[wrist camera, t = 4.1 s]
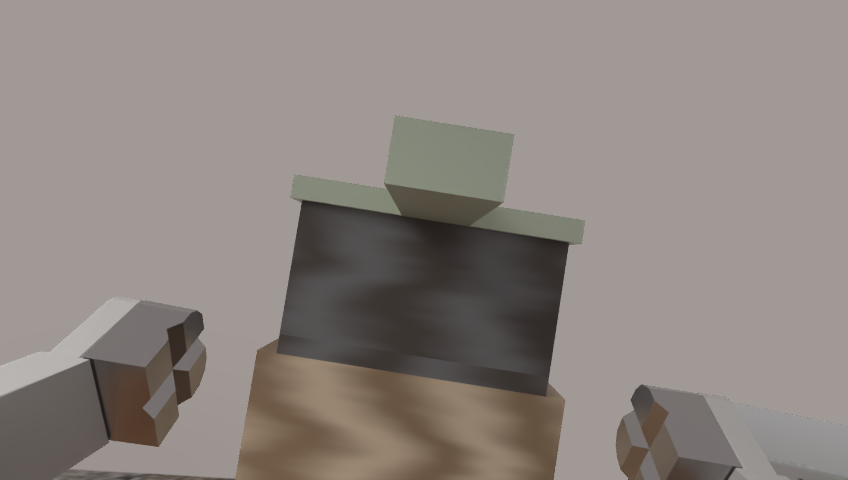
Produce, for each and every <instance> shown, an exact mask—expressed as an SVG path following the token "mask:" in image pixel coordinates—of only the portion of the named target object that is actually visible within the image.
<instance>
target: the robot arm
mask: <svg viewBox="0 0 848 480" xmlns="http://www.w3.org/2000/svg"><path fill="white" fill-rule="evenodd" d="M203 329H204V325H203V318H202V314H201V313H200V312H198V311H197V310H192V309H187V308H182V307H176V306H171V305H166V304H161V303H155V302H150V301H141V300H137V299H132V298H126V297H121V296H118V297H114V298H111V299H109V300H108V301H107V302H106V303H105V304H104V305H102V306H101V307H100V308H99V309H98V310H97V311H96V312H94V313H93V314H92V315H91V316H90V317H89V318H88V319H87V320H85V321H84V322H83V323H82V324H81V325H80V326H79V327H77V329H75V330H74V331H73V332H72V333H71V334H70V335H68V337H66V338H65V339H64V340H63V341H62V342H60V343H59V344H58V345H57V346H56V347H55V348H54V349H53V350H51V351H50V352H49V353H47V352H41V351H39V352H37V353H34V354H32V355H29V356H26V357H23V358H21V359H18V360H15V361H12V362H10V363H7V364H4V365H2V366H0V480H53V479H54V478H56V477H57V476H59V475H60V474H62V473H63V472H65V471H66V470H68V469H70V468H71V467H73V466H74V465H76V464H77V463H79V462H80V461H82V460H83V459H84V458H86V457H88V456H89V455H91V454H92V453H94V452H95V451H97V450H99V449H100V448H102V447H103V446H105V445H106V444H108V443H109V440H113V441H121V442H127V443H134V444H142V445H149V446H156V447H159V445H160V444H161V442H162V441H163V439H164V438H165V436H166V435H167V433H168V432H169V430H170V429H171V427H172V426H173V424H174V423H175V421H176V420H177V419H178V417H179V413H178V405H179V404H180V403H182V402H184V401H186V400H187V399H189V398H191V397H192V396H193V394H194V393H195V391H196V390H197V388H198V386H199V385H200V382H201V379H202V377H203V374H204V371H205V365H206V347H205V346H204V345H203V344H202V342H201V341H200V340H199V339H198V338H197V337H198V336H199V335H200V333H201V332H202V331H203ZM631 402H632V405H633V407H634V411H632V412H631V413H629V414H627V415H625V416H624V417H623V418H622V420H621V423H620V425H619V427H618V430H617V438H616V452H617V458H618V462H619V466H620V469H621V470H622V472H624V474H625V475H626V476H627V477H628V478H629V479H630V480H790V479H789V478H788V477H786V476H781V475H777V474H776V472H775V471H774V469H773V467H772V466H771V464H770V463H769V461H768V459H767V458H766V456H765V454H764V453H763V451H762V450H761V448H760V446H759V445H758V443H757V441H756V440H755V438H754V437H753V435H752V433H751V432H750V430H749V428H748V427H747V425H746V424H745V422H744V420H743V419H742V417H741V415H740V414H739V412H738V411H737V409H736V407H735V406H734V404H733V403H732V402H731V401H730V400H729V399H727V398H726V397H723V396H716V395H708V394H702V393H692V392H685V391H679V390H673V389H666V388H659V387H654V386H648V385H640V386H639V387H638V388H637V389H636V390H635V392H634V394H633V396H632V398H631Z"/></svg>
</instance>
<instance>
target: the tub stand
mask: <svg viewBox="0 0 848 480" xmlns="http://www.w3.org/2000/svg"><path fill="white" fill-rule="evenodd" d="M568 246H569V242H562V241H556V240H550V239H544V238H537V237H531V236H525V235H518V234H512V233H506V232H500V231H493V230H487V229H481V228H475V227H468V226H462V225H456V224H449V223H443V222H437V221H431V220H424V219H418V218H412V217H405V216H399V215H393V214H387V213H380V212H374V211H368V210H361V209H355V208H349V207H343V206H336V205H330V204H324V203H317V202H311V201H305V200H302V205H301V211H300V217H299V223H298V229H297V234H296V240H295V246H294V252H293V258H292V265H291V270H290V276H289V282H288V288H287V294H286V300H285V306H284V312H283V318H282V324H281V330H280V336H279V338H278V339H277V340H275V341H273V342H271V343H270V344H268V345H266V346H264V347H262V348H260V349H259V350H257V355H256V361H255V367H254V373H253V379H252V384H251V391H250V396H249V402H248V408H247V414H246V420H245V426H244V432H243V437H242V443H241V450H240V455H239V462H238V467H237V473H236V479H235V480H553V478H554V472H555V465H556V459H557V452H558V445H559V439H560V432H561V425H562V418H563V412H564V405H565V399H564V398H563V397H562V396H561V395H560V394H559V393H558V392H557V391H556V390H555V389H554V388H553V387H552V386H551V385H550V384H549V383H548V380H549V379H548V378H549V373H550V366H551V360H552V353H553V345H554V340H555V333H556V326H557V319H558V313H559V306H560V299H561V293H562V286H563V279H564V273H565V266H566V259H567V253H568Z"/></svg>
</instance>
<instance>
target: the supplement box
mask: <svg viewBox="0 0 848 480" xmlns="http://www.w3.org/2000/svg"><path fill="white" fill-rule="evenodd" d="M732 403H733V404H734V406H735V407H736V409H737V411H738V412H739V414H740V415H741V417H742V419H743V420H744V422H745V424H746V425H747V427H748V428H749V430H750V432H751V433H752V435H753V437H754V438H755V440H756V441H757V443H758V445H759V446H760V448H761V450H762V451H763V453H764V454H765V456H766V458H767V459H768V461H769V463H770V464H771V466H772V467H773V469H774V471H775V472H776V474H777V475H781V476H786V477H788V478H789V479H790V480H848V427H846V426H844V425H842V424H838V423H833V422H828V421H823V420H818V419H813V418H808V417H802V416H797V415H793V414H788V413H782V412H777V411H772V410H767V409H761V408H757V407H752V406H748V405H744V404H739V403H734V402H732ZM628 480H630V479H629V478H628Z"/></svg>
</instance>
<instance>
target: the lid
mask: <svg viewBox="0 0 848 480" xmlns="http://www.w3.org/2000/svg"><path fill="white" fill-rule="evenodd" d="M513 139H514V134H509V133H503V132H496V131H490V130H484V129H477V128H471V127H465V126H458V125H451V124H445V123H439V122H432V121H426V120H420V119H414V118H408V117H400V116H395V118H394V125H393V131H392V137H391V143H390V149H389V155H388V162H387V167H386V174H385V179H384V184H385V186H386V188H387V189H384V188H377V187H371V186H364V185H358V184H352V183H346V182H339V181H333V180H327V179H321V178H314V177H308V176H302V175H294V179H293V184H292V190H291V196H290V197H291V198H293V199H295V200H297V201H300V202H302V200H305V201H311V202H317V203H324V204H330V205H336V206H343V207H349V208H355V209H361V210H368V211H374V212H380V213H387V214H393V215H399V216H405V217H412V218H418V219H424V220H431V221H437V222H443V223H449V224H456V225H462V226H468V227H475V228H481V229H487V230H493V231H500V232H506V233H512V234H518V235H525V236H531V237H537V238H544V239H550V240H556V241H562V242H569V245H573V244H581V243H582V238H583V231H584V225H585V221H584V220H578V219H573V218H566V217H560V216H553V215H547V214H540V213H535V212H528V211H522V210H516V209H510V208H503V207H498V206H499V205H500V204H502V203H503V202H504V196H505V189H506V184H507V177H508V170H509V164H510V157H511V151H512V145H513Z"/></svg>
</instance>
